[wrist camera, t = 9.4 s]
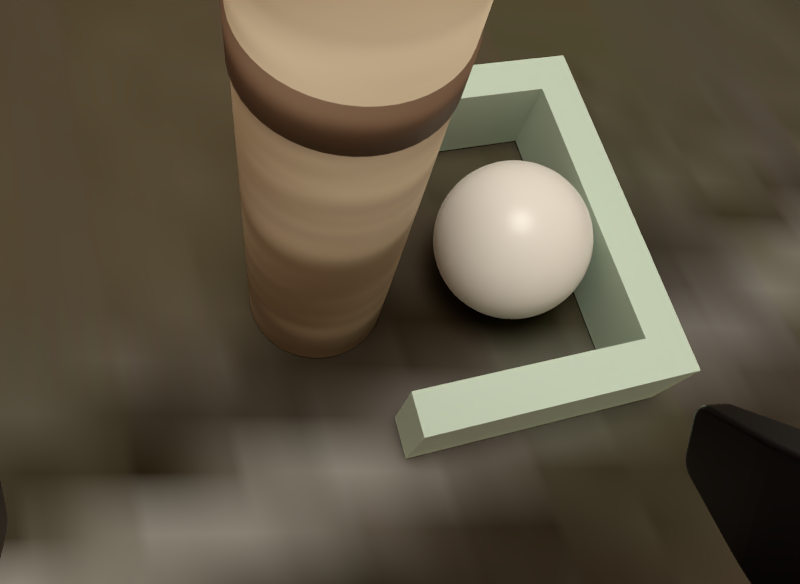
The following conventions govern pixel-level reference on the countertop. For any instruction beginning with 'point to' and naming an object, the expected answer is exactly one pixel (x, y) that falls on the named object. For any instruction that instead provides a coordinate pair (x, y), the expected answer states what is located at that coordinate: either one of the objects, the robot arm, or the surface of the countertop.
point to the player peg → (338, 149)
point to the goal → (596, 293)
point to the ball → (513, 239)
